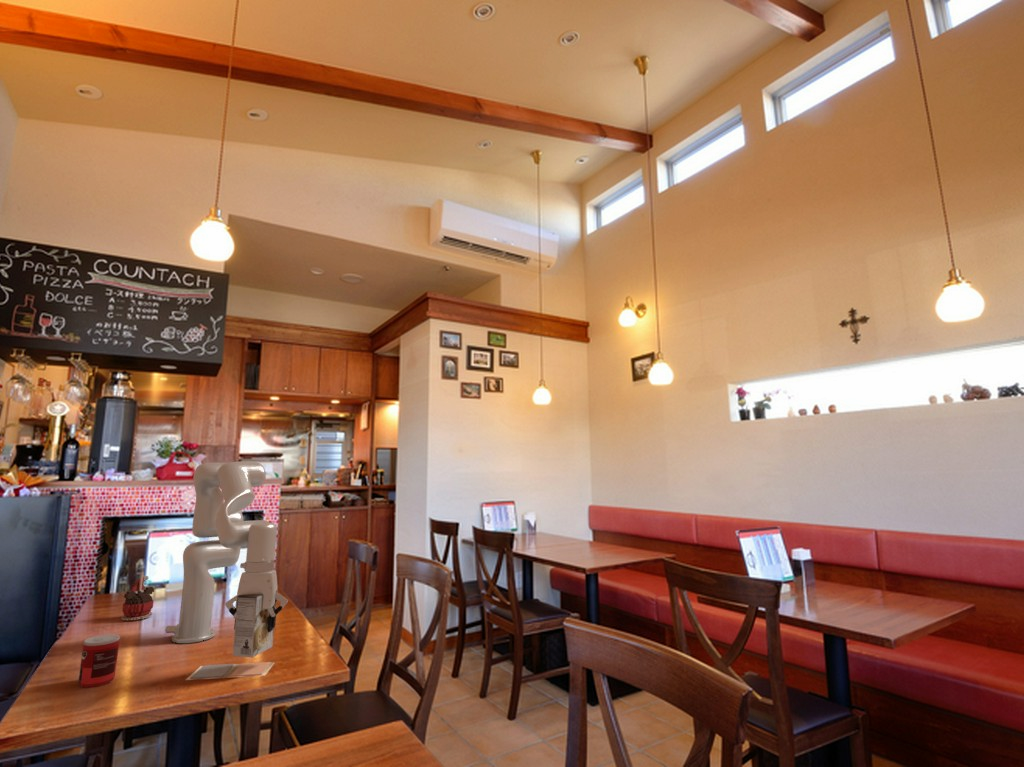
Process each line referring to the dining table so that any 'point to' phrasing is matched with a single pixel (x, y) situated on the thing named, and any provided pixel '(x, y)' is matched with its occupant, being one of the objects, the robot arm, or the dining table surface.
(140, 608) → the cake
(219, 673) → the slate pad
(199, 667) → the serving board
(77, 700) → the dining table surface
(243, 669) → the terracotta pad
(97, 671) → the canned food
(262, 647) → the coffee box
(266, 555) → the robot arm
